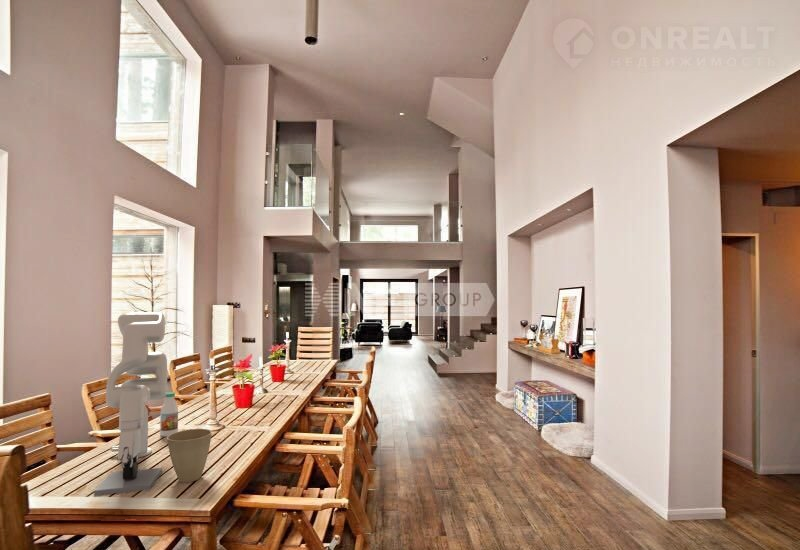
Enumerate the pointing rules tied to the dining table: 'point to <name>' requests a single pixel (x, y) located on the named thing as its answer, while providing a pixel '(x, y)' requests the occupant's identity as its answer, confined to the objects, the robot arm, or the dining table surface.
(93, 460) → the dining table surface
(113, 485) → the lid
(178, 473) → the plant pot
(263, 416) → the dining table surface
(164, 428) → the milk bottle
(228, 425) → the dining table surface
